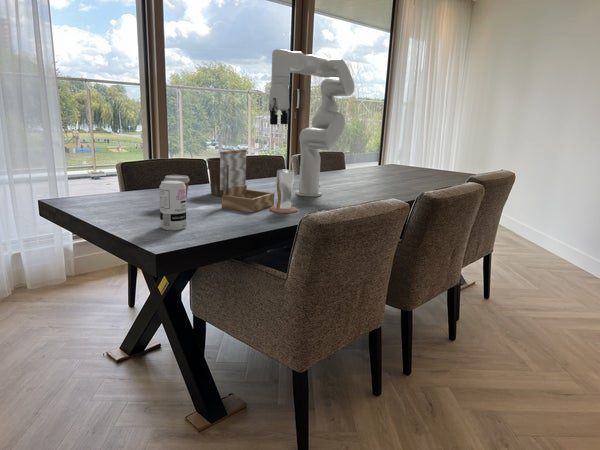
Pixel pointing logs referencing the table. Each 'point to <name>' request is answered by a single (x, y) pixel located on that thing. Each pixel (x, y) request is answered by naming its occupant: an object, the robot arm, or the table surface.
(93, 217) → the table surface
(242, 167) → the open wooden box
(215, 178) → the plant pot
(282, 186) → the beer glass
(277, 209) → the saucer
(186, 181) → the disposable coffee cup
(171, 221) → the supplement can
